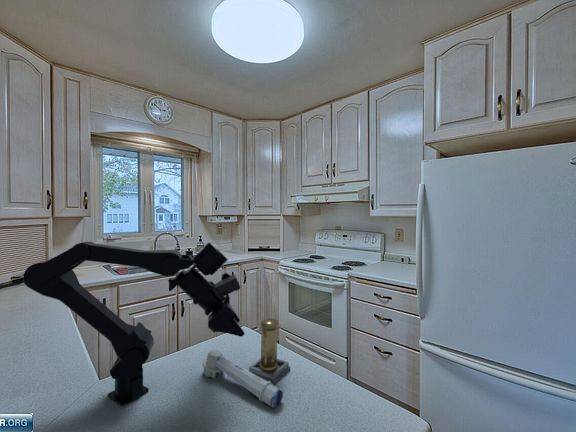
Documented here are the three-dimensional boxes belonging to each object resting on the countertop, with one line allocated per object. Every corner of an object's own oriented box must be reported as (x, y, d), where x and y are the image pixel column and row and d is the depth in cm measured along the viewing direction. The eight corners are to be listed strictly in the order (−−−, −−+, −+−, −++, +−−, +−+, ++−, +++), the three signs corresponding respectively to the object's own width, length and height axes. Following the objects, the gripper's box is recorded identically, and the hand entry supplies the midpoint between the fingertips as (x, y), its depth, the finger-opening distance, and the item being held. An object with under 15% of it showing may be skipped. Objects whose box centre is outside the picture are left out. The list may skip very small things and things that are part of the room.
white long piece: (271, 396, 60) (200, 347, 75) (267, 425, 61) (197, 371, 75) (285, 385, 65) (215, 341, 79) (282, 411, 65) (213, 363, 79)
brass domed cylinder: (256, 368, 76) (257, 321, 76) (269, 362, 79) (270, 317, 79) (267, 376, 73) (268, 326, 73) (280, 369, 76) (282, 322, 76)
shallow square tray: (247, 375, 75) (247, 367, 75) (265, 361, 82) (265, 354, 82) (273, 385, 70) (273, 376, 70) (289, 370, 77) (290, 362, 77)
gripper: (224, 272, 63) (270, 317, 67) (220, 260, 81) (256, 295, 84) (187, 309, 61) (236, 353, 64) (190, 288, 79) (229, 323, 82)
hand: (240, 327), depth 74 cm, fingers open, 9 cm apart
